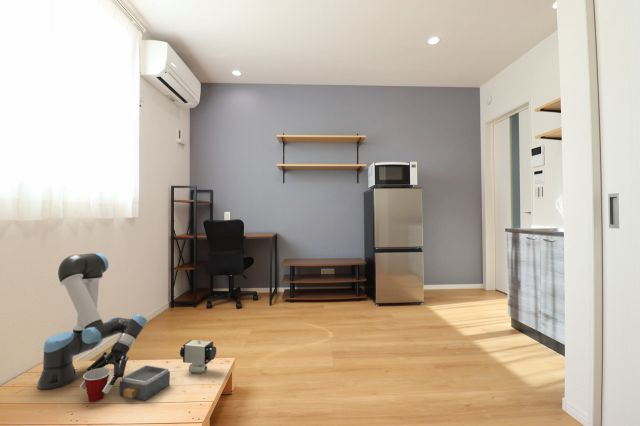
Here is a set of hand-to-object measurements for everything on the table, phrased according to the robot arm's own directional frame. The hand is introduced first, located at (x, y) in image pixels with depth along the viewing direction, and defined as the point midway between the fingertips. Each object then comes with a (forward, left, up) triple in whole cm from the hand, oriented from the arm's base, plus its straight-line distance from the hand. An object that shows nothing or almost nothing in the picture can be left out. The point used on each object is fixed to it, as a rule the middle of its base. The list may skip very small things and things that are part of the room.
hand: (93, 390), depth 142 cm
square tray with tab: (+16, +13, -5) cm, 21 cm away
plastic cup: (0, +2, -5) cm, 5 cm away
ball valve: (+28, +38, -5) cm, 47 cm away
